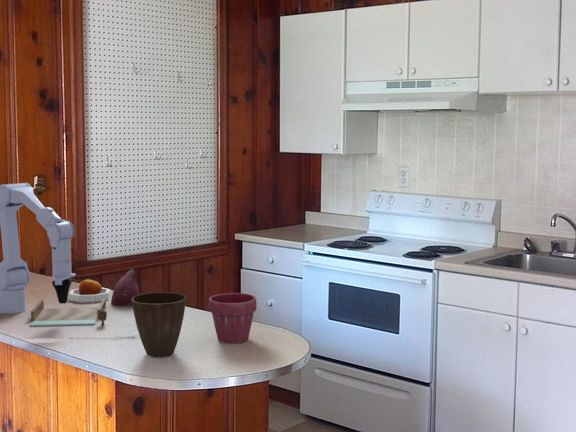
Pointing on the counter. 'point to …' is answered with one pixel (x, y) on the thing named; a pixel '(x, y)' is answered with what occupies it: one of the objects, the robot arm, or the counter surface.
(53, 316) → the tan lipped tray
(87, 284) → the fruit
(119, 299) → the vegetable
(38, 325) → the panel
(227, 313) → the plant pot
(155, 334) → the plant pot
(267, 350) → the counter surface
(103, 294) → the fruit dish
